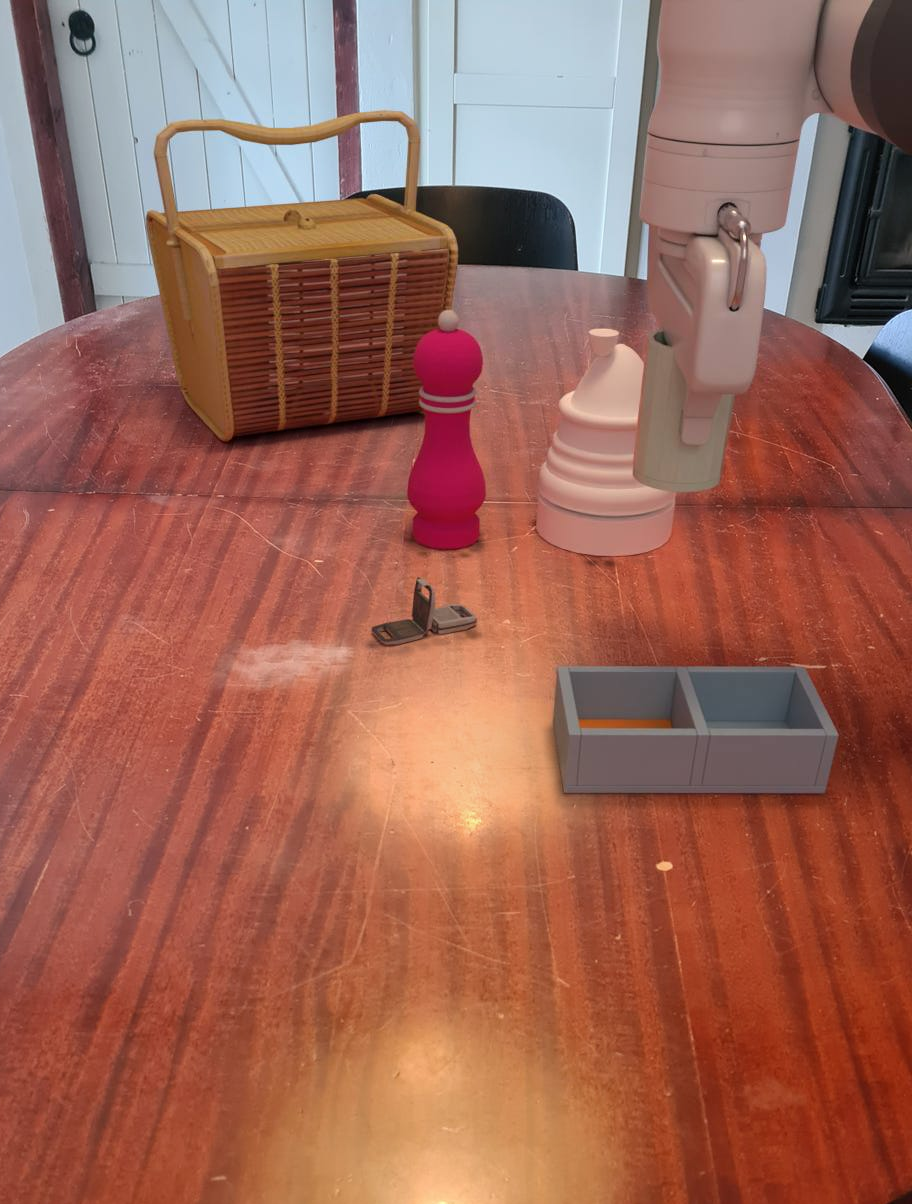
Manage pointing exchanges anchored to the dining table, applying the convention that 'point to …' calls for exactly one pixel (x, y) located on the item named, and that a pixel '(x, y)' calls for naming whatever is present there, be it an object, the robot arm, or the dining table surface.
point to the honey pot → (601, 464)
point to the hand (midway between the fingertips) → (683, 422)
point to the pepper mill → (447, 439)
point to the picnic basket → (299, 295)
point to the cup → (674, 428)
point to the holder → (691, 730)
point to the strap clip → (426, 618)
